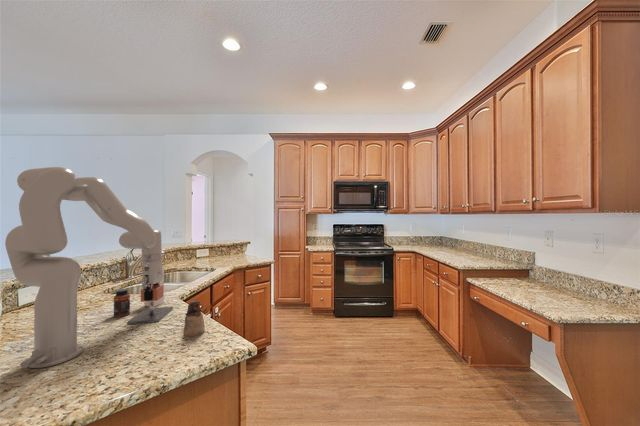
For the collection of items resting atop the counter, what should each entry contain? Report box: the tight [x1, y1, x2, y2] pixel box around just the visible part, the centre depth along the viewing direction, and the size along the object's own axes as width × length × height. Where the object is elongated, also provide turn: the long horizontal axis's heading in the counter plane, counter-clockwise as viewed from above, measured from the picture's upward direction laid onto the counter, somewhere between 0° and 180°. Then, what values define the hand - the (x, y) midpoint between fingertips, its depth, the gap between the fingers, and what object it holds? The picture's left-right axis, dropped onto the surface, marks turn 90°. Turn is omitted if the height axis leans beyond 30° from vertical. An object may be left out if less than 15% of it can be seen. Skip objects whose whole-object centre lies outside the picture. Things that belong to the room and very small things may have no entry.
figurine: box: [183, 300, 206, 338], centre depth 98 cm, size 7×7×12 cm
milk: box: [144, 265, 165, 307], centre depth 132 cm, size 6×6×22 cm
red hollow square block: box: [140, 285, 163, 303], centre depth 116 cm, size 6×6×5 cm
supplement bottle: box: [113, 288, 131, 318], centre depth 117 cm, size 6×6×11 cm
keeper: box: [126, 302, 174, 325], centre depth 116 cm, size 16×12×6 cm
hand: (152, 297), depth 116 cm, fingers closed on red hollow square block, 6 cm apart
